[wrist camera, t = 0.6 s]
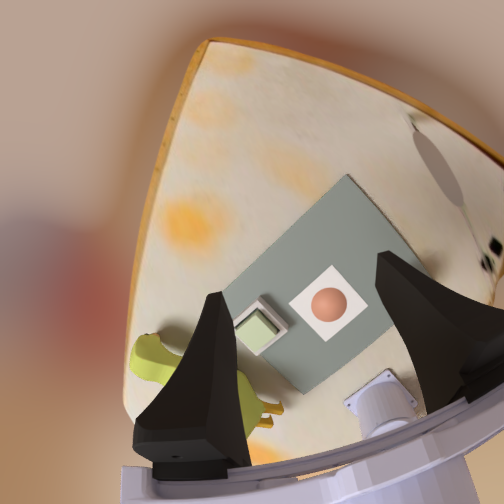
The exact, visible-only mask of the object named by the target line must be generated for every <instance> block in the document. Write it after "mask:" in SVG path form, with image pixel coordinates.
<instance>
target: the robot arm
mask: <svg viewBox="0 0 504 504" xmlns="http://www.w3.org/2000/svg"><path fill="white" fill-rule="evenodd" d="M375 287H376V290H377V292H378V295H379V297H380V299H381V301H382V304H383V305H384V307H385V309H386V311H387V312H388V314H389V316H390V318H391V319H392V321H393V323H394V325H395V326H396V328H397V330H398V332H399V333H400V335H401V337H402V339H403V341H404V343H405V345H406V347H407V349H408V352H409V355H410V357H411V360H412V362H413V365H414V368H415V371H416V374H417V377H418V380H419V383H420V387H421V390H422V394H423V398H424V402H425V406H426V411H427V416H425V417H422V418H420V419H418V417H417V415H416V413H415V411H414V409H413V408H415V407H416V406H417V405H418V402H417V401H416V400H415V399H414V397H413V396H412V395H411V394H410V393H409V392H408V391H407V390H406V388H405V387H404V386H403V385H402V384H401V383H400V382H399V381H398V379H397V378H396V377H395V376H394V375H393V374H392V373H391V372H390V371H389V370H385V371H384V372H382V373H381V374H380V375H378V376H377V377H376V378H375V379H373V380H372V381H371V382H369V383H368V384H367V385H365V386H364V387H363V388H361V389H360V390H359V391H357V392H356V393H354V394H353V395H352V396H350V397H349V398H347V399H346V400H345V401H344V405H345V406H346V407H347V408H348V409H349V410H350V411H351V412H352V413H353V414H355V415H356V416H357V417H358V420H359V425H360V429H361V434H362V439H363V440H362V441H360V442H357V443H354V444H350V445H347V446H344V447H340V448H337V449H333V450H329V451H326V452H322V453H318V454H314V455H309V456H305V457H301V458H296V459H291V460H286V461H281V462H275V463H269V464H263V465H257V466H252V464H251V459H250V455H249V450H248V445H247V440H246V435H245V430H244V424H243V418H242V412H241V406H240V400H239V393H238V380H237V350H236V337H235V330H234V324H233V320H232V317H231V314H230V312H229V309H228V307H227V304H226V301H225V299H224V296H223V294H222V291H220V292H216V293H211V294H208V295H207V297H206V301H205V304H204V307H203V310H202V313H201V316H200V319H199V321H198V324H197V326H196V329H195V332H194V334H193V336H192V338H191V341H190V343H189V345H188V347H187V349H186V351H185V353H184V355H183V357H182V359H181V361H180V363H179V364H178V366H177V368H176V369H175V371H174V372H173V374H172V376H171V377H170V379H169V380H168V382H167V383H166V384H165V386H164V387H163V388H162V390H161V391H160V392H159V394H158V395H157V396H156V397H155V399H154V400H153V401H152V402H151V403H150V405H149V406H148V407H147V408H146V409H145V410H144V411H143V412H142V413H141V414H140V415H139V416H138V417H137V418H136V421H135V426H134V432H133V446H132V447H133V450H134V451H135V452H136V453H138V454H139V455H141V456H143V457H144V458H146V459H148V460H150V461H152V462H153V468H148V467H138V466H122V471H121V497H120V499H121V500H120V504H480V502H479V499H478V496H477V492H476V489H475V486H474V483H473V480H472V478H471V475H470V472H469V469H468V466H467V464H466V461H465V458H464V455H466V454H468V453H469V452H471V451H473V450H474V449H476V448H477V447H479V446H481V445H482V444H484V443H485V442H487V441H488V440H490V439H491V438H492V437H494V436H495V435H497V434H498V433H500V432H501V431H502V430H504V310H503V309H498V308H495V307H491V306H488V305H485V304H482V303H480V302H477V301H474V300H472V299H470V298H467V297H465V296H463V295H460V294H458V293H456V292H454V291H452V290H450V289H448V288H447V287H445V286H443V285H441V284H440V283H438V282H436V281H435V280H433V279H431V278H430V277H428V276H427V275H425V274H423V273H422V272H420V271H419V270H417V269H416V268H414V267H413V266H412V265H410V264H409V263H407V262H406V261H404V260H403V259H401V258H400V257H398V256H397V255H396V254H394V253H393V252H391V251H389V250H388V251H384V252H380V253H377V266H376V278H375ZM389 374H390V375H389ZM387 375H389V376H387ZM412 400H413V401H412ZM348 404H350V405H348ZM348 463H350V464H348ZM345 464H348V465H346V466H344V467H342V468H339V469H337V470H333V471H330V472H327V473H324V474H320V475H317V476H314V477H310V478H306V479H303V480H299V481H298V479H297V478H296V476H300V475H306V474H310V473H314V472H318V471H323V470H327V469H330V468H334V467H338V466H341V465H345ZM291 477H293V478H291Z"/></svg>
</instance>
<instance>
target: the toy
mask: <svg viewBox="0 0 504 504" xmlns="http://www.w3.org/2000/svg"><path fill="white" fill-rule="evenodd" d="M181 359H182V356H178V355H175V354H173V353H171V352H170V351H168V350H167V349H166V348H165V347H164V346H163V345H162V343H161V342H160V336H159V335H158V334H156V333H153V334H145V335H141V336H140V337H138V339H137V340H136V342H135V344H134V346H133V348H132V351H131V355H130V370H131V371H132V372H133V373H134V374H135V375H137V376H138V377H140V378H141V379H143V380H147V381H154V382H158V383H160V384H162V385H163V386H165V384H166V383H167V382H168V380H169V379H170V377H171V376H172V374H173V372H174V371H175V369H176V368H177V366H178V364H179V363H180V361H181ZM237 380H238V393H239V400H240V406H241V412H242V418H243V424H244V430H245V435H246V439H247V438H248V437H249V435H250V434H251V432H252V431H253V430H254V428H255V427H264V428H272V426H273V425H274V424H273V420H272V417H271V415H269V418H261V416H262V413H271V414H277V415H282V413H283V412H284V408H283V406H282V403H281V401H280V403H279V404H270V403H267V402H264V401H262V400H260V399H259V398H258V397H257V396H256V394H255V392H254V390H253V388H252V387H251V385H250V383H249V381H248V379H247V377H246V376H245V374H244V373H242V372H241V371H239V370H237Z"/></svg>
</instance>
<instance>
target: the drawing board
mask: <svg viewBox="0 0 504 504" xmlns="http://www.w3.org/2000/svg"><path fill="white" fill-rule="evenodd" d="M388 250H389V251H391V252H393V253H394V254H396V255H397V256H398V257H400V258H401V259H403V260H404V261H406V262H407V263H409V264H410V265H412V266H413V267H414V268H416V269H417V270H419V271H420V272H422V273H423V274H425V275H427V276H428V277H430V278H431V276H430V275H429V273H428V272H427V271H426V269H425V268H424V267H423V265H422V264H421V263H420V261H419V260H418V259H417V257H416V256H415V255H414V253H413V252H412V251H411V249H410V248H409V247H408V246H407V244H406V243H405V242H404V241H403V239H402V238H401V237H400V236H399V234H398V233H397V232H396V231H395V229H394V228H393V227H392V226H391V224H390V223H389V222H388V221H387V220H386V218H385V217H384V216H383V215H382V214H381V213H380V211H379V210H378V209H377V208H376V207H375V206H374V204H373V203H372V202H371V201H370V200H369V199H368V198H367V197H366V195H365V194H364V193H363V192H362V191H361V190H360V189H359V188H358V187H357V185H356V184H355V183H354V182H353V181H352V180H351V179H350V178H349V177H348V176H347V175H345V176H344V177H343V178H342V179H341V180H339V181H338V182H337V183H336V184H335V185H334V186H333V187H332V188H331V189H330V190H329V191H328V192H327V193H326V194H325V195H324V196H323V197H322V198H321V199H320V200H319V201H318V202H317V203H316V204H314V205H313V206H312V207H311V208H310V209H309V210H308V211H307V212H306V213H305V214H304V215H303V216H302V217H301V218H300V219H299V220H298V221H297V222H296V223H295V224H294V225H293V226H291V227H290V228H289V229H288V230H287V231H286V232H285V233H284V234H283V235H282V236H281V237H280V238H279V239H278V240H277V241H276V242H275V243H274V244H273V245H272V246H270V247H269V248H268V249H267V250H266V251H265V252H264V253H263V254H262V255H261V256H260V257H259V258H258V259H257V260H256V261H255V262H254V263H253V264H251V265H250V266H249V267H248V268H247V269H246V270H245V271H244V272H243V273H242V274H241V275H240V276H239V277H238V278H237V279H236V280H235V281H233V282H232V283H231V284H230V285H229V286H228V287H227V288H226V289H225V290H224V291H223V292H222V294H223V296H224V299H225V301H226V304H227V307H228V309H229V312H230V314H231V317H232V320H233V324H234V330H235V331H236V329H237V327H238V325H239V324H240V323H242V322H243V321H244V320H245V319H246V318H247V317H248V316H250V315H251V314H252V313H253V312H254V311H255V310H257V309H258V308H259V309H260V310H261V311H262V312H263V313H264V315H265V316H266V317H267V318H268V319H269V320H270V321H271V322H272V323H273V324H274V325H275V326H276V327H277V328H278V329H277V334H276V336H275V337H274V338H273V339H271V340H270V341H269V342H268V343H266V344H265V345H264V346H263V347H261V348H260V349H259V350H258V351H256V352H253V351H252V350H251V349H250V348H249V347H248V346H247V345H246V344H245V343H244V342H243V341H242V340H241V339H240V338H239V337H238V336H237V335H236V334H235V336H236V337H237V338H238V339H239V340H240V341H241V342H242V343H243V344H244V345H245V346H246V347H247V348H248V349H249V350H250V351H251V352H253V353H254V354H255V355H256V356H257V355H259V354H260V355H261V356H262V357H263V358H264V359H265V360H266V361H267V362H269V363H270V364H271V365H272V366H273V367H274V368H275V369H276V370H277V371H278V372H279V373H280V374H281V375H282V376H283V377H285V378H286V379H287V380H288V381H289V382H290V383H291V384H292V385H293V386H294V387H295V388H297V389H298V390H299V391H300V392H301V393H302V394H303V395H304V394H305V393H307V392H308V391H310V390H311V389H313V388H314V387H316V386H317V385H318V384H320V383H321V382H323V381H324V380H325V379H327V378H328V377H329V376H331V375H332V374H334V373H335V372H336V371H338V370H339V369H340V368H341V367H343V366H344V365H345V364H347V363H348V362H349V361H351V360H352V359H353V358H354V357H356V356H357V355H358V354H359V353H361V352H362V351H363V350H364V349H366V348H367V347H368V346H369V345H370V344H372V343H373V342H374V341H375V340H376V339H378V338H379V337H380V336H381V335H382V334H383V333H384V332H386V331H387V330H388V329H389V328H390V327H391V326H392V325H394V323H393V321H392V319H391V318H390V316H389V314H388V312H387V311H386V309H385V307H384V305H383V304H382V301H381V299H380V297H379V295H378V292H377V290H376V287H375V278H376V266H377V253H380V252H384V251H388ZM431 279H432V278H431Z"/></svg>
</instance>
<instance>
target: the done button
mask: <svg viewBox="0 0 504 504" xmlns="http://www.w3.org/2000/svg"><path fill="white" fill-rule="evenodd" d="M277 329H278V328H277V327H276V326H275V325H274V324H273V323H272V322H271V321H270V320H269V319H268V318H267V317H266V316H265V315H264V313H263V312H262V311H261V310H260V309H259V308H258V309H257V310H255V311H254V312H253V313H252V314H251V315H250V316H248V317H247V318H246V319H245V320H244V321H243V322H242V323H240V324H239V325H238V327H237V329H236V331H235V334H236V335H237V336H238V337H239V338H240V339H241V340H242V341H243V342H244V343H245V344H246V345H247V346H248V347H249V348H250V349H251V350H252V351H253V352H256V351H258V350H259V349H260V348H261V347H263V346H264V345H265V344H266V343H268V342H269V341H270V340H271V339H273V338H274V337H275V336H276V334H277Z"/></svg>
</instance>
